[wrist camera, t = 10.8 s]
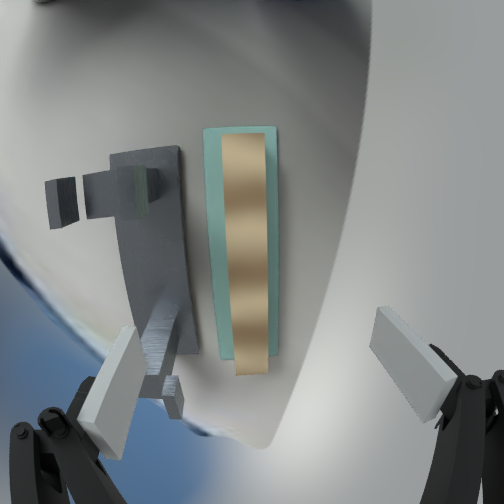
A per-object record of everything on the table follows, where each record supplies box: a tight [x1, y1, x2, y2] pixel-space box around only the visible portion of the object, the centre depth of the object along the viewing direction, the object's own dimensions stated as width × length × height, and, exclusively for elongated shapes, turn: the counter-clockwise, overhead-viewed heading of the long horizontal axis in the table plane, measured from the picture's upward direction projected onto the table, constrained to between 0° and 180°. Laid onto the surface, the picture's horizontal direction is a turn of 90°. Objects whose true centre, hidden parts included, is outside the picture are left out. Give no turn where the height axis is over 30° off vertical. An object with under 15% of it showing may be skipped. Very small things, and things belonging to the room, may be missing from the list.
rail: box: [221, 133, 268, 376], centre depth 26 cm, size 24×4×4 cm, turn 2°
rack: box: [45, 145, 199, 419], centre depth 22 cm, size 23×7×13 cm, turn 2°
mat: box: [203, 126, 279, 360], centre depth 29 cm, size 26×7×1 cm, turn 2°
